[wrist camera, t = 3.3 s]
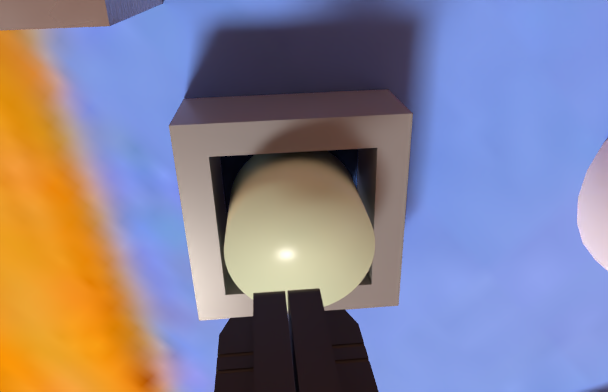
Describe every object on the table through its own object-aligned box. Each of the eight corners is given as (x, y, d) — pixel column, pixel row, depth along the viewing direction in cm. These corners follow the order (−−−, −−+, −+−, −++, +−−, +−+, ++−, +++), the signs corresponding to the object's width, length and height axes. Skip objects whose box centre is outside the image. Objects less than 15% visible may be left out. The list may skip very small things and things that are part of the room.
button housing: (388, 89, 17) (412, 113, 14) (379, 258, 20) (398, 305, 17) (183, 98, 16) (168, 125, 14) (207, 270, 19) (199, 320, 17)
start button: (356, 138, 16) (378, 177, 13) (354, 250, 18) (372, 306, 15) (223, 145, 16) (216, 187, 13) (235, 258, 18) (231, 316, 15)
